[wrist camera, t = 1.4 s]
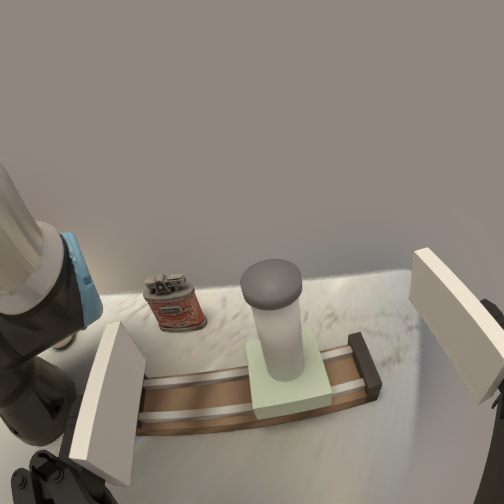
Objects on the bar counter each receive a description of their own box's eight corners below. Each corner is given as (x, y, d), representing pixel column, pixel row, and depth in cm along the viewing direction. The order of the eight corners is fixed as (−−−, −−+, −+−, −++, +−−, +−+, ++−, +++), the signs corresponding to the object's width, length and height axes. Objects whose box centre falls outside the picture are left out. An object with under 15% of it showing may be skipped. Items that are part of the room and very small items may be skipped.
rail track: (137, 435, 32) (122, 423, 30) (143, 386, 38) (130, 370, 36) (376, 399, 31) (382, 383, 29) (357, 350, 38) (360, 331, 36)
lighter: (158, 333, 47) (133, 287, 41) (162, 318, 49) (140, 272, 44) (205, 330, 46) (185, 282, 40) (208, 315, 49) (190, 266, 43)
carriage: (257, 419, 29) (221, 329, 20) (250, 356, 37) (219, 254, 28) (331, 405, 29) (336, 306, 20) (313, 343, 37) (306, 237, 28)
